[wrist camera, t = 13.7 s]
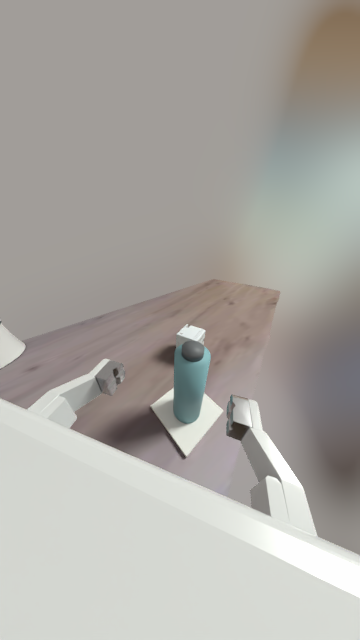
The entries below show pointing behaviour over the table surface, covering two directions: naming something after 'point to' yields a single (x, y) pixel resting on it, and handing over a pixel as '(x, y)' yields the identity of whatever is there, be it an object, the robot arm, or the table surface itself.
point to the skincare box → (190, 335)
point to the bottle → (189, 380)
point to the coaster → (182, 432)
